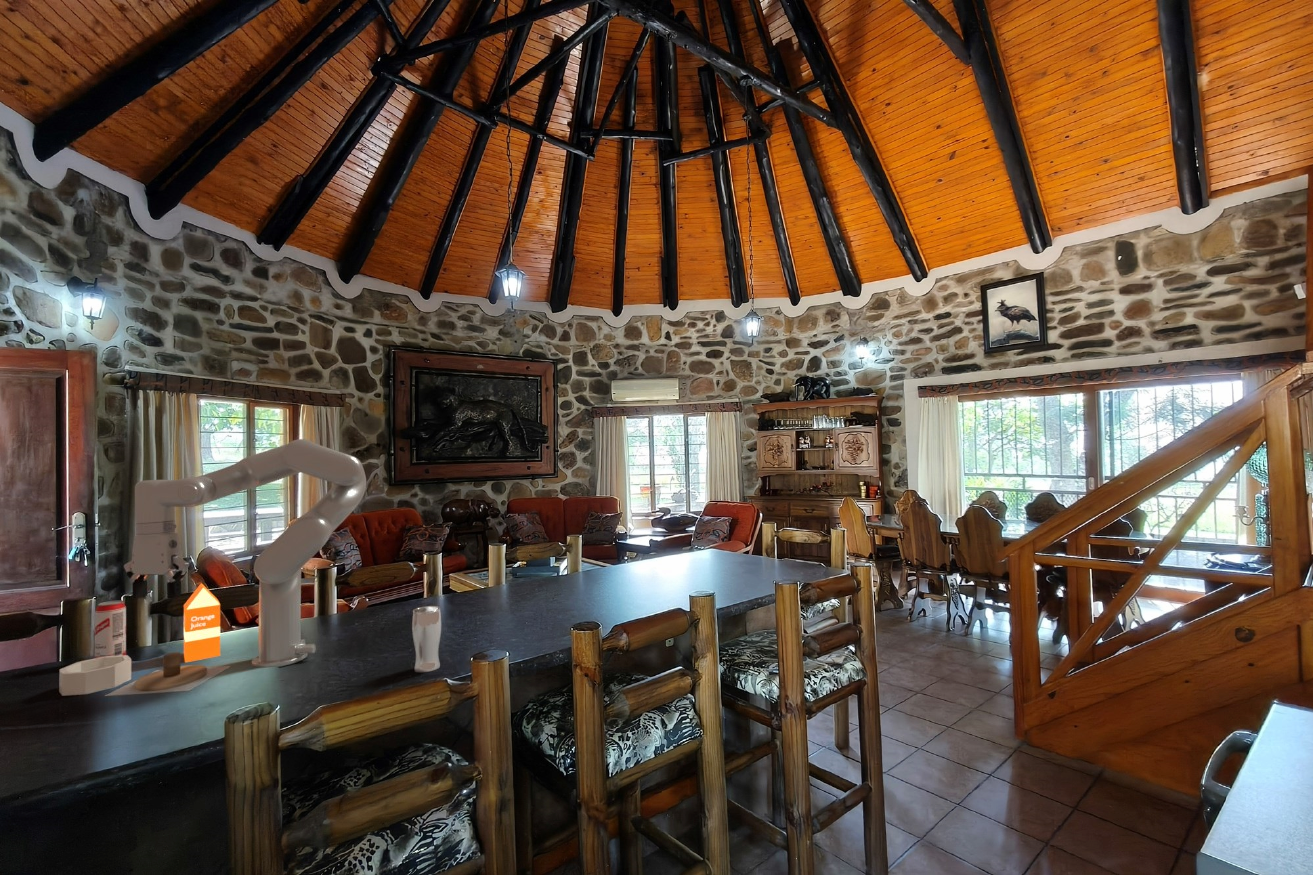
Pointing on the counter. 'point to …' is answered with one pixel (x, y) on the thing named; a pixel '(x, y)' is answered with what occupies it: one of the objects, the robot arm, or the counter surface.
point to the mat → (131, 688)
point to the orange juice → (201, 625)
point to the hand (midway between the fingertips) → (157, 597)
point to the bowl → (94, 675)
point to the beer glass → (426, 637)
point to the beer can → (110, 629)
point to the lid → (170, 675)
